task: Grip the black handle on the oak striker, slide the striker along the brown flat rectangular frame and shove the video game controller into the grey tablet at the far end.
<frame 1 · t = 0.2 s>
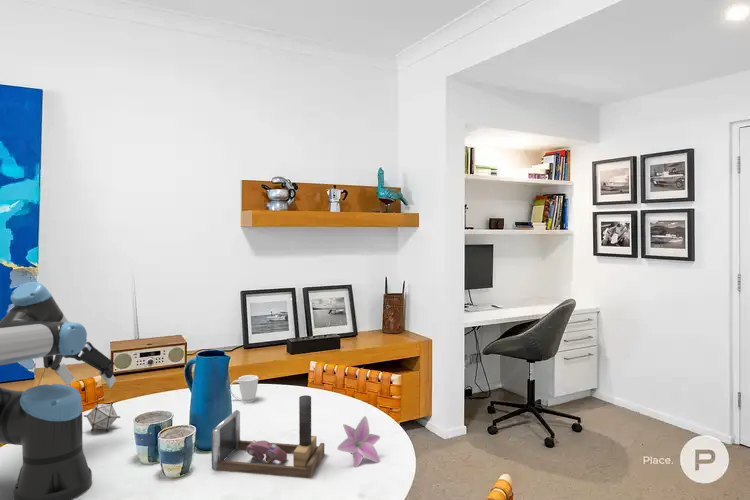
hand: (91, 382, 147), 15 cm above the table, tool tilted 35°, fingers open, 13 cm apart
brown flat rectangular frame: (271, 461, 132), on the table
striker: (305, 430, 130), point 9 cm above the table, slide at 0.0 cm
grey tablet: (224, 457, 134), on the table
cup: (244, 401, 177), on the table
game die: (102, 430, 152), on the table
lily: (359, 460, 133), on the table
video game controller: (266, 462, 132), on the table
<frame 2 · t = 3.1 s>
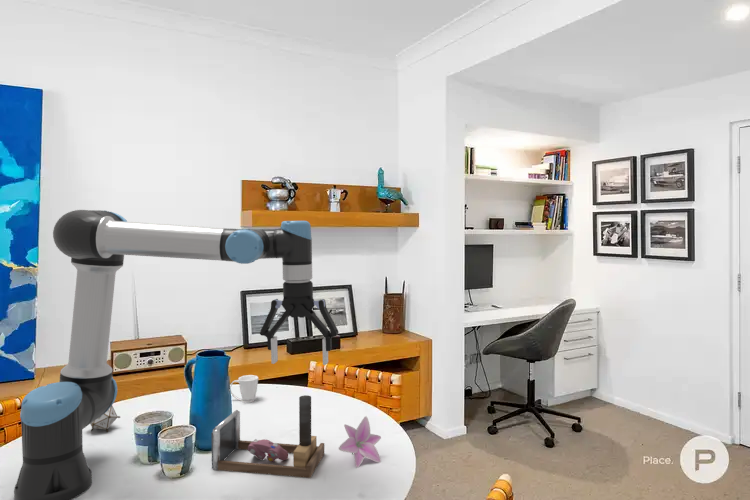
hand: (300, 362, 132), 25 cm above the table, tool pointing down, fingers open, 13 cm apart
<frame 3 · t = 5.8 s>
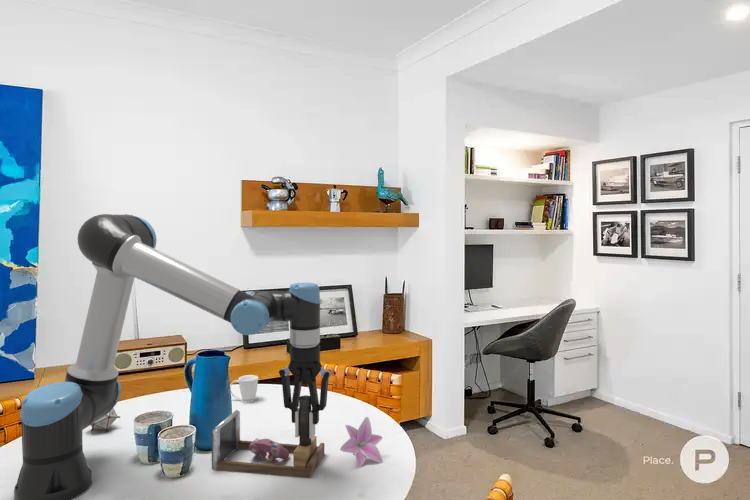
hand: (305, 435, 130), 8 cm above the table, tool pointing down, fingers closed on striker, 3 cm apart
striker: (305, 430, 130), point 9 cm above the table, slide at 0.0 cm, touching gripper
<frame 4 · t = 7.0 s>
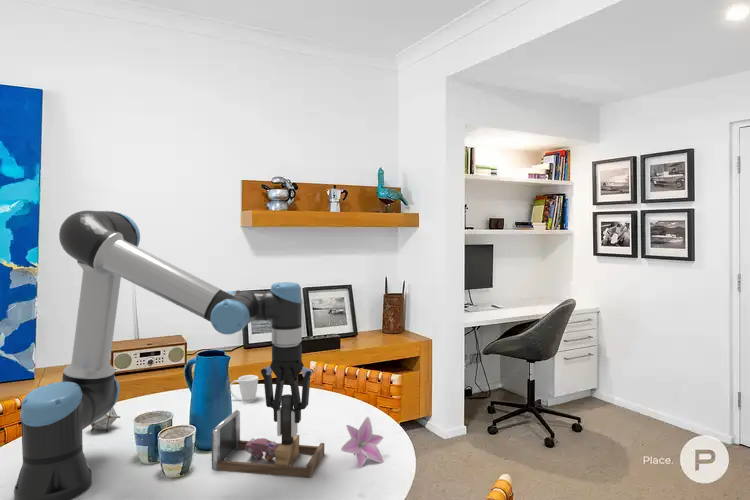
hand: (287, 434, 131), 8 cm above the table, tool pointing down, fingers closed on striker, 3 cm apart
striker: (287, 428, 131), point 9 cm above the table, slide at 4.7 cm, touching gripper, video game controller
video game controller: (265, 459, 133), on the table, touching striker
everything else where it was.
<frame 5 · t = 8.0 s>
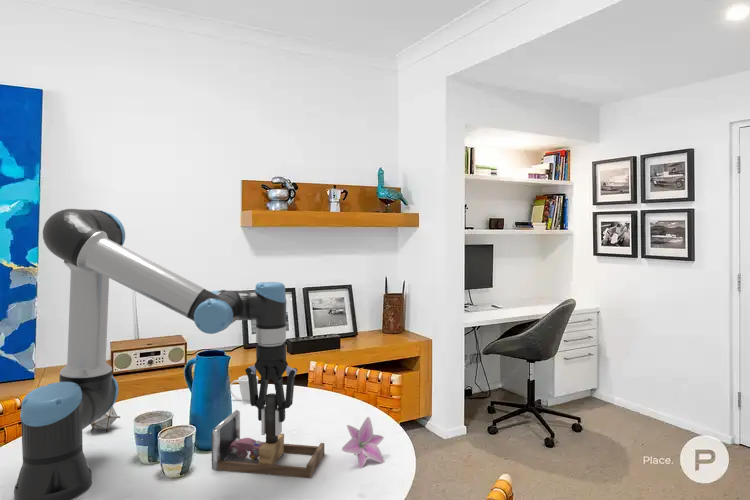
hand: (271, 433, 131), 8 cm above the table, tool pointing down, fingers closed on striker, 3 cm apart
striker: (271, 427, 131), point 9 cm above the table, slide at 9.0 cm, touching gripper
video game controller: (249, 459, 134), on the table
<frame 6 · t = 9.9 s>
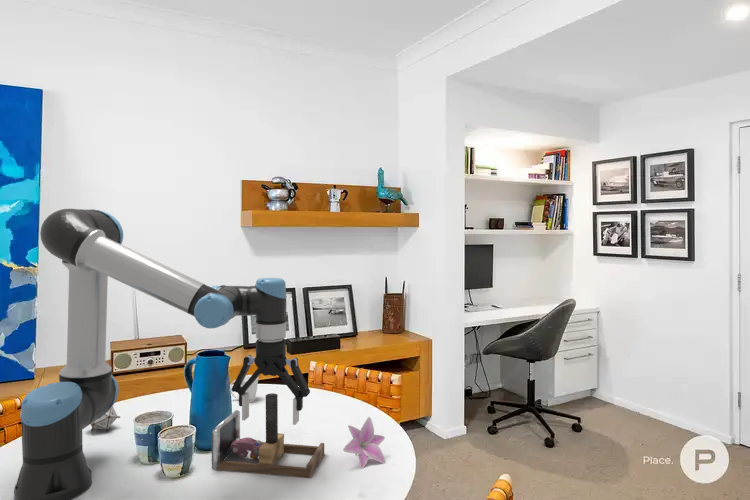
hand: (270, 420, 131), 11 cm above the table, tool pointing down, fingers open, 13 cm apart
striker: (271, 427, 131), point 9 cm above the table, slide at 9.0 cm
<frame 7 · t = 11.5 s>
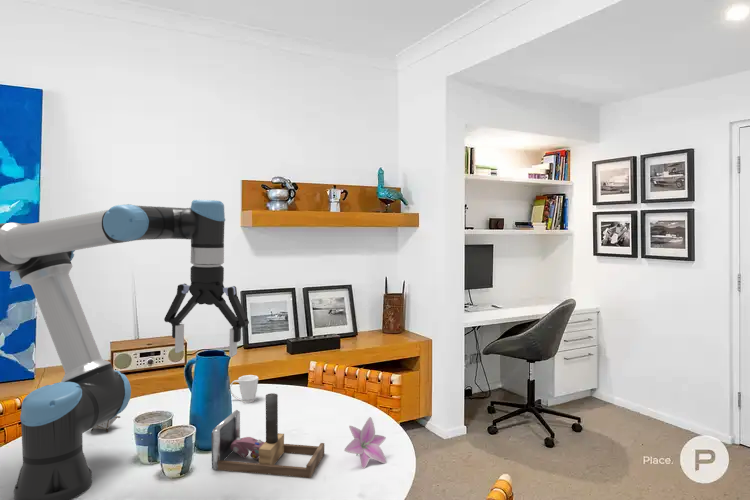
hand: (206, 353, 122), 30 cm above the table, tool pointing down, fingers open, 13 cm apart
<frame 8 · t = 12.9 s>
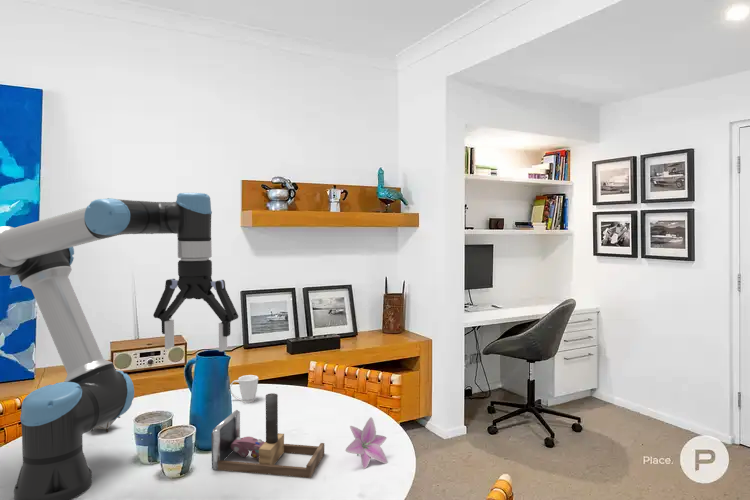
hand: (196, 348, 121), 32 cm above the table, tool pointing down, fingers open, 13 cm apart
at the end: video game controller inside the target area (3.2 cm from its centre), on the table; striker slide at 8.9 cm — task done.
